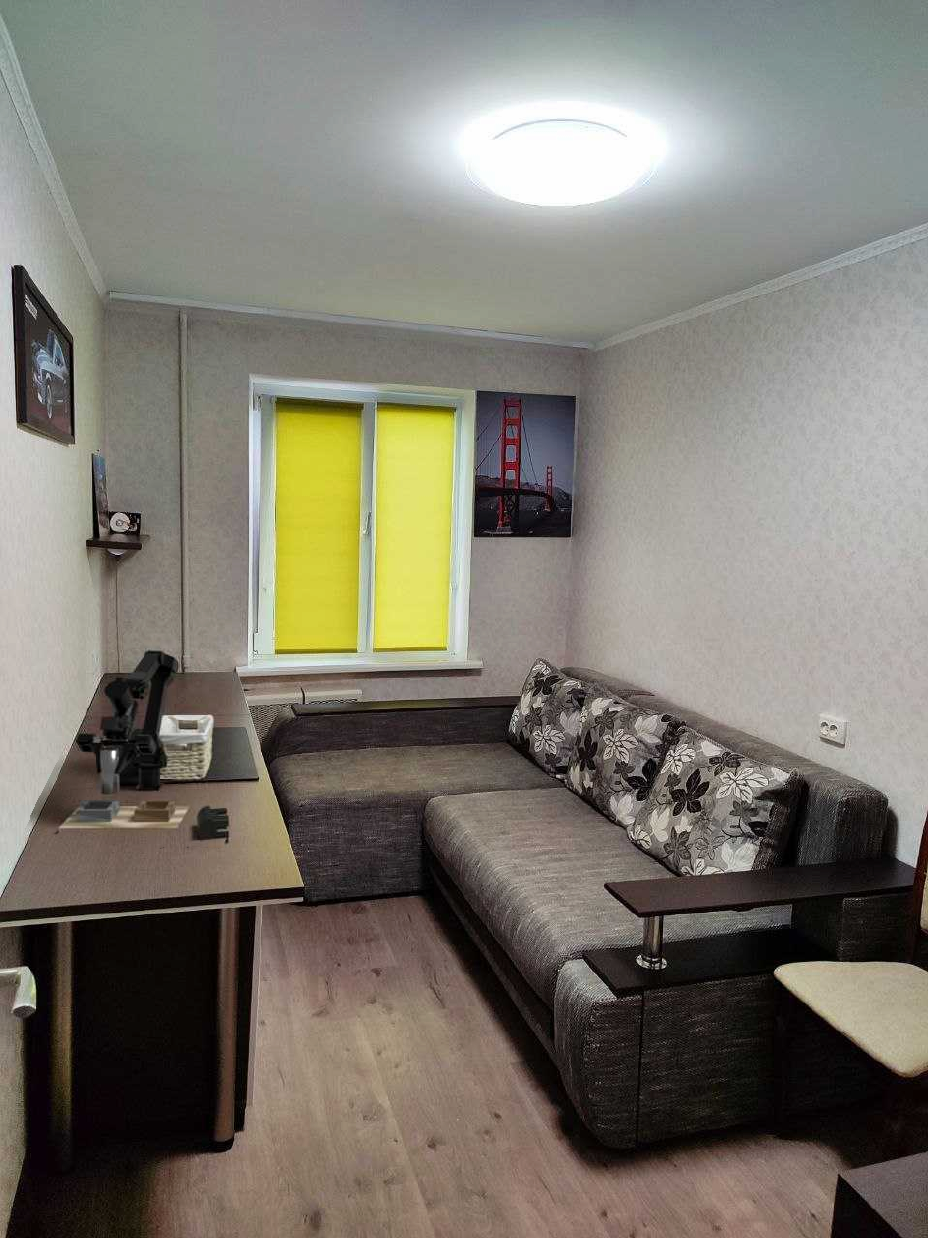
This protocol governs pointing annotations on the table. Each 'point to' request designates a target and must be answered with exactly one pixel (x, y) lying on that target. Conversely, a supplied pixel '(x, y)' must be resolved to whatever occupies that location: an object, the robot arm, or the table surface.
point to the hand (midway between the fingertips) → (107, 773)
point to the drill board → (126, 815)
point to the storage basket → (186, 746)
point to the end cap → (212, 823)
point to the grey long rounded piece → (109, 770)
